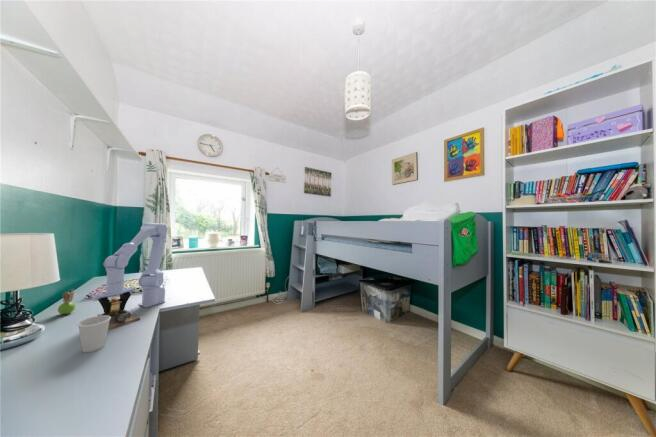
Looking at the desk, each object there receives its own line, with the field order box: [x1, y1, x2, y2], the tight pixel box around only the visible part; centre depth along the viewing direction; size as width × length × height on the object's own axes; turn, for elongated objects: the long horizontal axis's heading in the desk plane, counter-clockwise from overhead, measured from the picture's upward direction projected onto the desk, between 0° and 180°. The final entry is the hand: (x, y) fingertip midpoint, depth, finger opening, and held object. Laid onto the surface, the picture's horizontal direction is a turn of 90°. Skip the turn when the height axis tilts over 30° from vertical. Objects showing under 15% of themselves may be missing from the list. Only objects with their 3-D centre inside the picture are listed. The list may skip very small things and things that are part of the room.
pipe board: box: [96, 309, 141, 330], centre depth 102 cm, size 12×16×3 cm
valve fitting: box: [107, 297, 122, 317], centre depth 102 cm, size 5×5×8 cm
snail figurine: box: [57, 288, 76, 315], centre depth 107 cm, size 5×6×12 cm
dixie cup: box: [76, 315, 111, 353], centre depth 81 cm, size 8×8×10 cm
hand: (114, 311), depth 102 cm, fingers closed on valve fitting, 5 cm apart
